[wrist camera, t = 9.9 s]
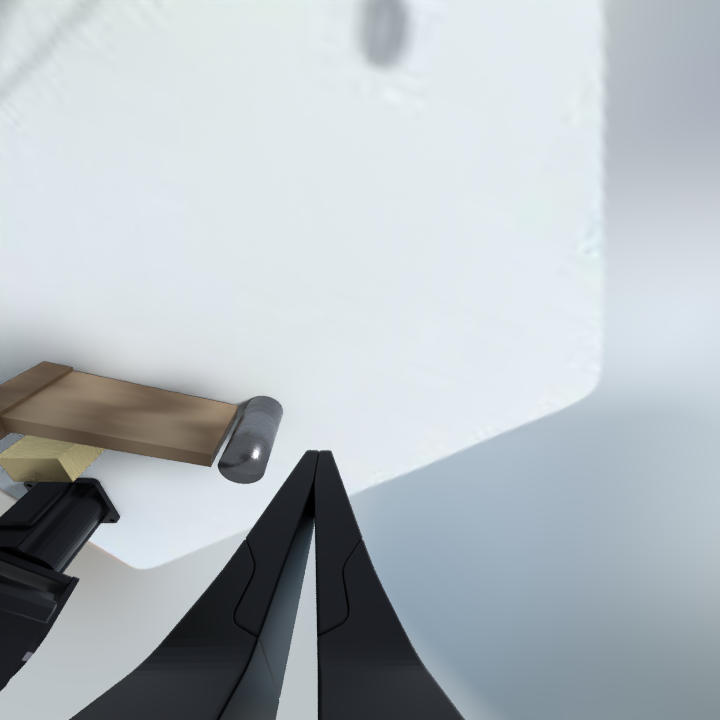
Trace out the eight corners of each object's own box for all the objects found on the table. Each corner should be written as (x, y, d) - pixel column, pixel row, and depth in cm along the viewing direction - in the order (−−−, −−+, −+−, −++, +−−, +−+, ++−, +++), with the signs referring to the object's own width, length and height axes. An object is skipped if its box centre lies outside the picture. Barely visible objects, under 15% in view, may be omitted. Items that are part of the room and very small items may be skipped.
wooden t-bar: (238, 403, 23) (205, 464, 18) (236, 419, 24) (203, 482, 18) (44, 361, 20) (-61, 417, 15) (49, 381, 21) (-49, 441, 16)
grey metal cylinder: (284, 424, 25) (266, 483, 20) (249, 423, 25) (222, 483, 20) (281, 396, 24) (261, 453, 18) (244, 395, 23) (213, 452, 18)
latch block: (121, 432, 25) (73, 481, 21) (73, 431, 25) (14, 481, 20) (111, 410, 24) (57, 458, 19) (60, 409, 24) (-6, 457, 19)
